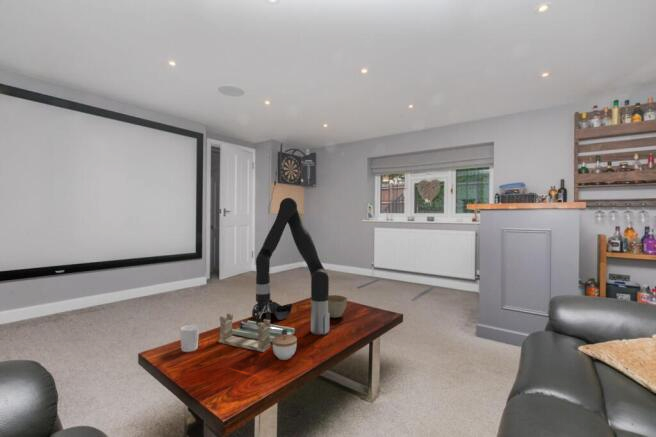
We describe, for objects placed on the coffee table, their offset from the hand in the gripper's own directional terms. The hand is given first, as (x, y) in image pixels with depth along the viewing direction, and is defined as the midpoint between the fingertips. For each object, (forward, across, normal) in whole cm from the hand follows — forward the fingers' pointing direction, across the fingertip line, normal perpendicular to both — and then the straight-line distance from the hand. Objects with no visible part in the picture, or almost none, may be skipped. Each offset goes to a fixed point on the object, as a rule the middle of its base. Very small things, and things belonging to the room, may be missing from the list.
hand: (263, 322), depth 156 cm
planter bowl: (+7, +42, -24) cm, 49 cm away
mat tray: (+6, 0, 0) cm, 6 cm away
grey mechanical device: (+6, +24, +10) cm, 27 cm away
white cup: (+5, -29, +21) cm, 36 cm away
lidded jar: (+6, -18, -23) cm, 30 cm away
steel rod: (+3, 0, 0) cm, 3 cm away
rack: (+6, -15, +1) cm, 16 cm away
